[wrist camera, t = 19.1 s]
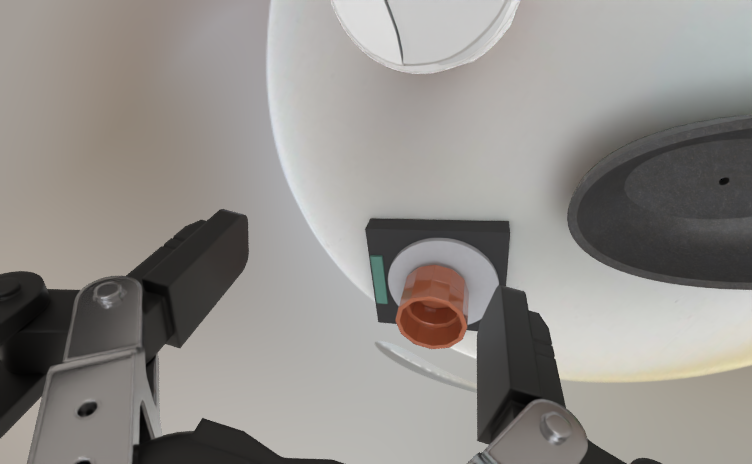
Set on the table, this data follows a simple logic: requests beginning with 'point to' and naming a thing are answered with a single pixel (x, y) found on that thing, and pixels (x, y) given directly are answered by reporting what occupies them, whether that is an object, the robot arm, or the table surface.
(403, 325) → the small bowl
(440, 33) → the coffee cup
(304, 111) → the table surface
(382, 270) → the scale
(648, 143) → the bowl
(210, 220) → the robot arm
